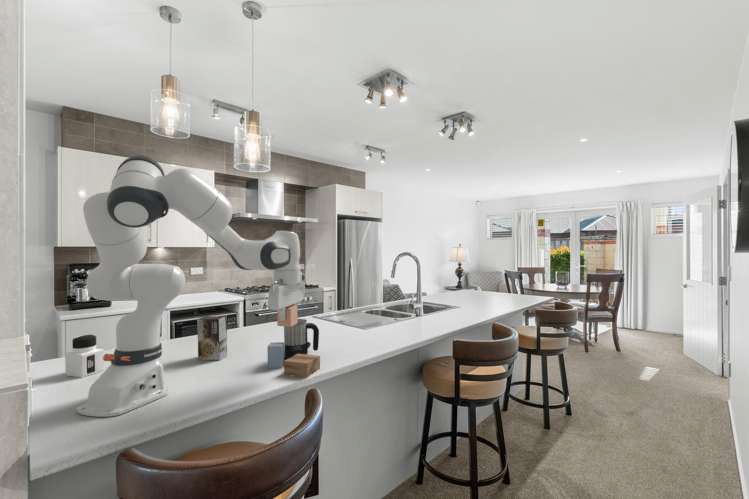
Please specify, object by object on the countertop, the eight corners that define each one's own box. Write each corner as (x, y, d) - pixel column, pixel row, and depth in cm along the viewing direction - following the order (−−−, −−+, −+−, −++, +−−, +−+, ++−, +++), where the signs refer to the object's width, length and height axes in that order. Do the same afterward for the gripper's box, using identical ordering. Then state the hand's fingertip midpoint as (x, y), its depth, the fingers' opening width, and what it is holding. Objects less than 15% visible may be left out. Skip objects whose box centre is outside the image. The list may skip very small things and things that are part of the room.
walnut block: (307, 378, 123) (307, 363, 123) (284, 375, 126) (284, 360, 126) (319, 369, 132) (319, 355, 132) (297, 367, 135) (297, 353, 135)
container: (104, 370, 131) (103, 334, 131) (81, 378, 124) (81, 339, 123) (88, 368, 133) (87, 332, 133) (65, 375, 126) (64, 338, 126)
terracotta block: (290, 326, 123) (290, 308, 123) (277, 325, 124) (277, 308, 124) (297, 323, 128) (297, 306, 128) (284, 322, 129) (284, 305, 129)
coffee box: (227, 355, 148) (227, 315, 148) (219, 360, 142) (219, 318, 141) (206, 354, 149) (205, 315, 149) (197, 360, 143) (196, 318, 142)
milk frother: (288, 364, 138) (288, 324, 137) (273, 353, 150) (273, 317, 150) (322, 357, 146) (322, 319, 146) (305, 348, 159) (305, 313, 158)
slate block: (281, 368, 133) (281, 346, 133) (267, 368, 133) (267, 346, 133) (284, 363, 138) (284, 342, 138) (270, 363, 138) (270, 342, 138)
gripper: (280, 281, 115) (281, 325, 115) (307, 275, 135) (308, 312, 135) (262, 281, 116) (263, 324, 117) (292, 274, 136) (292, 311, 137)
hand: (287, 318), depth 126 cm, fingers closed on terracotta block, 5 cm apart
